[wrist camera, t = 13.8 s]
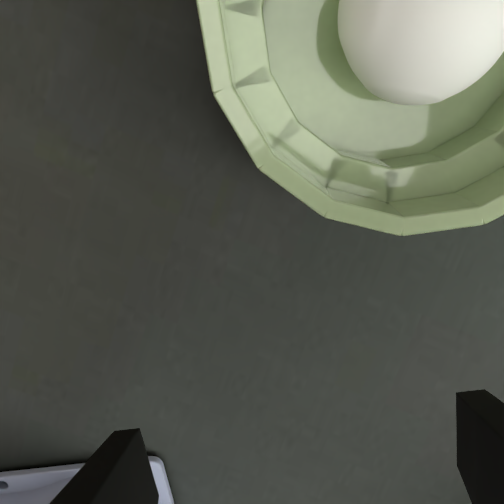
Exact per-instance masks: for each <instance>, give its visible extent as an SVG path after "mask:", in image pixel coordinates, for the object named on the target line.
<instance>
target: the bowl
mask: <svg viewBox="0 0 504 504" xmlns="http://www.w3.org/2000/svg"><path fill="white" fill-rule="evenodd" d="M196 4H197V10H198V16H199V22H200V27H201V33H202V39H203V44H204V50H205V56H206V61H207V67H208V73H209V79H210V84H211V90H212V92H213V93H214V94H213V95H214V98H215V99H216V101H217V103H218V104H219V106H220V108H221V109H222V111H223V112H224V114H225V116H226V117H227V119H228V121H229V122H230V124H231V126H232V127H233V129H234V131H235V132H236V134H237V136H238V137H239V139H240V141H241V142H242V144H243V146H244V147H245V149H246V151H247V152H248V154H249V156H250V157H251V159H252V160H253V162H254V164H255V165H256V167H257V168H259V170H260V171H261V172H262V173H264V174H265V175H266V176H268V177H269V178H270V179H272V180H273V181H274V182H276V183H277V184H278V185H280V186H281V187H283V188H284V189H285V190H287V191H288V192H289V193H291V194H292V195H293V196H295V197H296V198H298V199H299V200H300V201H302V202H303V203H304V204H306V205H307V206H308V207H310V208H311V209H312V210H314V211H315V212H317V213H318V214H319V215H321V216H324V217H325V218H327V219H331V220H335V221H340V222H344V223H348V224H352V225H356V226H360V227H364V228H368V229H373V230H377V231H381V232H385V233H389V234H393V235H397V236H407V235H414V234H421V233H428V232H436V231H443V230H450V229H457V228H465V227H472V226H479V225H483V224H487V223H489V222H491V221H493V220H495V219H496V218H498V217H500V216H502V215H504V52H503V53H502V55H501V56H500V57H499V59H498V60H497V61H496V63H495V64H494V65H493V66H492V67H491V68H490V69H489V70H488V71H487V72H486V73H485V74H484V75H483V76H482V77H481V78H480V79H479V80H477V81H476V82H475V83H474V84H472V85H471V86H469V87H468V88H466V89H465V90H463V91H461V92H459V93H457V94H455V95H453V96H451V97H449V98H447V99H445V100H443V101H441V102H438V103H433V104H427V105H400V104H395V103H391V102H388V101H385V100H383V99H381V98H379V97H377V96H375V95H374V94H372V93H371V92H369V91H368V90H367V89H366V88H365V87H364V85H363V84H362V83H361V81H360V80H359V79H358V78H357V76H356V75H355V74H354V72H353V71H352V69H351V67H350V65H349V63H348V61H347V59H346V56H345V54H344V51H343V48H342V45H341V42H340V39H339V34H338V6H339V0H196Z"/></svg>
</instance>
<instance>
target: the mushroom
mask: <svg viewBox="0 0 504 504" xmlns="http://www.w3.org/2000/svg"><path fill="white" fill-rule="evenodd" d="M338 34H339V39H340V42H341V45H342V48H343V51H344V54H345V56H346V59H347V61H348V63H349V65H350V67H351V69H352V71H353V72H354V74H355V75H356V76H357V78H358V79H359V80H360V81H361V83H362V84H363V85H364V87H365V88H366V89H367V90H368V91H369V92H371V93H372V94H374V95H375V96H377V97H379V98H381V99H383V100H385V101H388V102H391V103H395V104H400V105H427V104H433V103H438V102H441V101H443V100H445V99H447V98H449V97H451V96H453V95H455V94H457V93H459V92H461V91H463V90H465V89H466V88H468V87H469V86H471V85H472V84H474V83H475V82H476V81H477V80H479V79H480V78H481V77H482V76H483V75H484V74H485V73H486V72H487V71H488V70H489V69H490V68H491V67H492V66H493V65H494V64H495V63H496V61H497V60H498V59H499V57H500V56H501V55H502V53H503V52H504V0H339V6H338Z"/></svg>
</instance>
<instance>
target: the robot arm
mask: <svg viewBox="0 0 504 504" xmlns="http://www.w3.org/2000/svg"><path fill="white" fill-rule="evenodd" d="M456 416H457V467H458V469H459V472H460V474H461V477H462V479H463V482H464V484H465V487H466V490H467V492H468V494H469V497H470V499H471V502H472V504H504V403H503V402H501V401H500V400H499V399H497V398H496V397H495V396H493V395H492V394H490V393H489V392H488V391H486V390H485V389H484V390H475V391H466V392H458V393H456ZM0 504H174V500H173V496H172V493H171V489H170V486H169V482H168V478H167V475H166V471H165V468H164V464H163V462H162V460H161V459H160V458H158V457H156V456H147V452H146V449H145V445H144V442H143V438H142V435H141V431H140V428H137V429H128V430H120V431H114V432H113V433H112V434H111V435H110V436H109V437H108V438H107V439H106V441H105V442H104V443H103V444H102V445H101V446H100V447H99V448H98V450H97V451H96V452H95V453H94V454H93V455H92V456H91V458H90V459H89V460H88V461H87V462H86V463H81V464H72V465H62V466H53V467H44V468H34V469H25V470H16V471H7V472H0Z"/></svg>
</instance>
